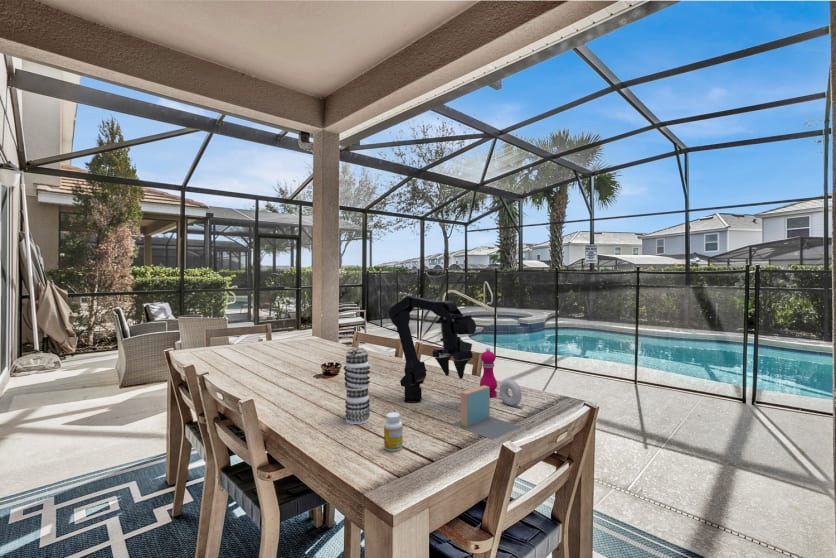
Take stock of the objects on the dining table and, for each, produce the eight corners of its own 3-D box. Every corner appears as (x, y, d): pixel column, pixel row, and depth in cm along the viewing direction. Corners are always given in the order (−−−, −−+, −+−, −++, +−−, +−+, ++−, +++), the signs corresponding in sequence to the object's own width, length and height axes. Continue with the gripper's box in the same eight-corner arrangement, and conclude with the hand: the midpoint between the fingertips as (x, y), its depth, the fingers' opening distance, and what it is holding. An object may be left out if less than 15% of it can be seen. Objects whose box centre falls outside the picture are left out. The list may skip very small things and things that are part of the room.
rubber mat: (451, 425, 128) (451, 423, 128) (480, 414, 138) (480, 413, 138) (492, 441, 115) (492, 439, 115) (520, 427, 125) (520, 426, 125)
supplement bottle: (384, 444, 114) (383, 411, 114) (402, 443, 114) (401, 411, 114) (384, 452, 109) (383, 418, 109) (403, 451, 109) (402, 417, 109)
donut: (523, 408, 143) (523, 381, 143) (517, 410, 141) (517, 383, 141) (503, 401, 152) (503, 376, 152) (497, 402, 150) (497, 377, 150)
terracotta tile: (461, 425, 126) (460, 392, 126) (484, 416, 134) (483, 385, 134) (467, 427, 125) (466, 394, 124) (490, 418, 132) (489, 386, 132)
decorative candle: (349, 427, 127) (348, 352, 127) (341, 418, 135) (340, 348, 135) (374, 421, 131) (373, 349, 131) (365, 413, 140) (364, 345, 140)
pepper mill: (497, 398, 155) (496, 349, 155) (479, 397, 157) (479, 349, 157) (497, 393, 162) (496, 346, 162) (480, 392, 164) (479, 345, 164)
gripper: (482, 332, 137) (487, 376, 136) (453, 332, 154) (457, 370, 153) (457, 336, 132) (461, 381, 131) (430, 335, 148) (434, 375, 147)
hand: (454, 377), depth 141 cm, fingers open, 9 cm apart
